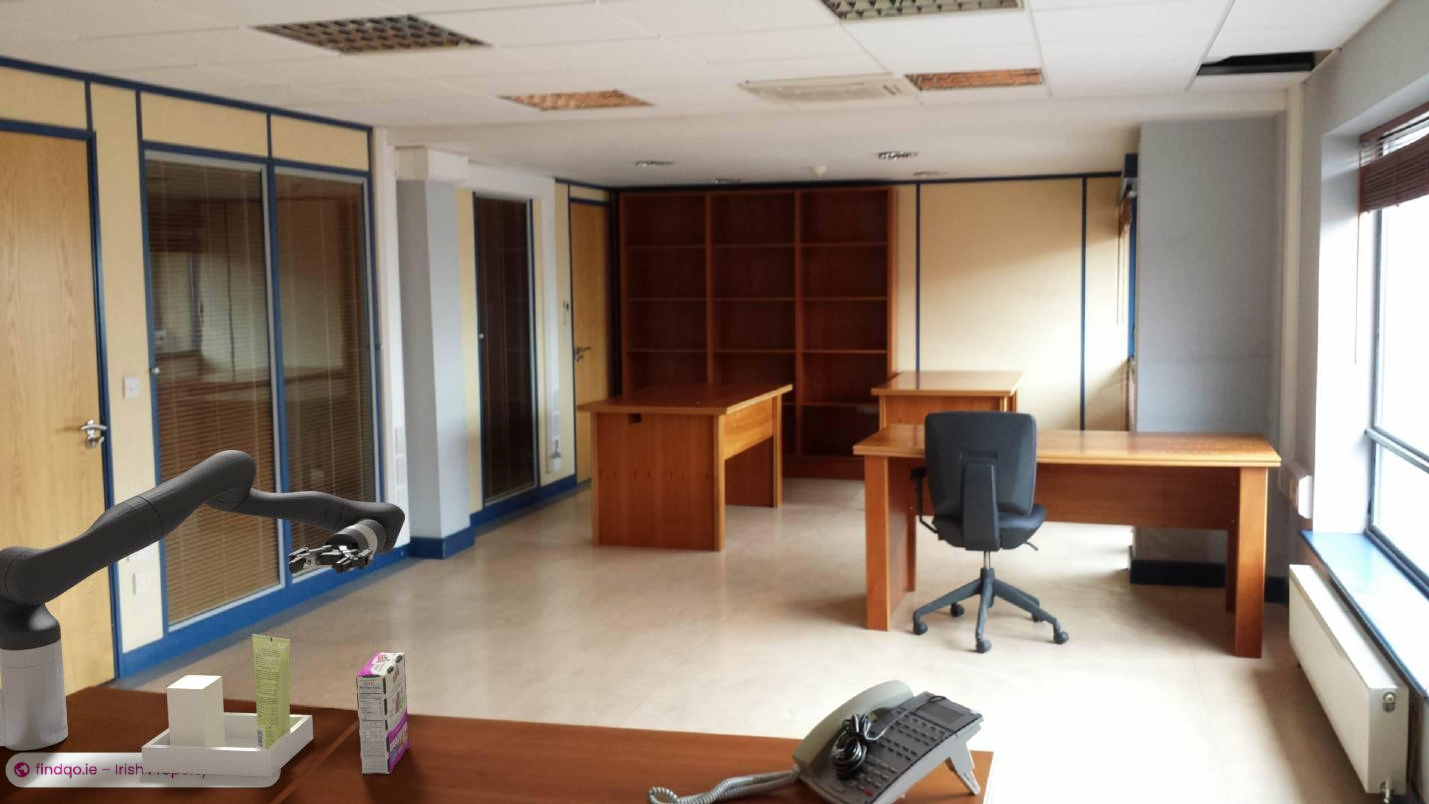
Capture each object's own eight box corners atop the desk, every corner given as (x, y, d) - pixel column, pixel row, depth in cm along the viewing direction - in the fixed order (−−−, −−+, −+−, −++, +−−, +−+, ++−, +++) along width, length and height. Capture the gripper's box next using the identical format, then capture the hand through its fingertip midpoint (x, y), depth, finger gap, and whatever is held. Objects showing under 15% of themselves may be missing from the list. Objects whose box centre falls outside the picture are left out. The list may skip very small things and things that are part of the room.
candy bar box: (380, 746, 197) (376, 651, 195) (409, 746, 197) (406, 651, 195) (358, 775, 186) (354, 674, 184) (390, 775, 186) (386, 674, 184)
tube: (294, 744, 196) (289, 629, 193) (295, 756, 191) (290, 638, 189) (257, 749, 194) (252, 633, 191) (257, 761, 189) (251, 642, 187)
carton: (170, 760, 190) (166, 687, 188) (190, 745, 196) (186, 675, 194) (206, 761, 189) (202, 688, 188) (225, 746, 195) (221, 676, 194)
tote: (143, 777, 185) (141, 747, 185) (194, 739, 200) (192, 711, 200) (271, 782, 184) (270, 751, 183) (313, 743, 198) (312, 715, 198)
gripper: (387, 566, 227) (354, 589, 211) (316, 565, 228) (277, 588, 212) (386, 528, 226) (352, 548, 210) (314, 527, 228) (275, 547, 212)
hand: (314, 568), depth 211 cm, fingers open, 8 cm apart
